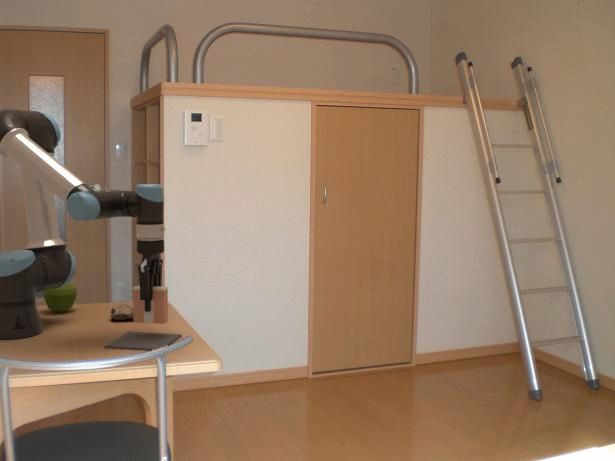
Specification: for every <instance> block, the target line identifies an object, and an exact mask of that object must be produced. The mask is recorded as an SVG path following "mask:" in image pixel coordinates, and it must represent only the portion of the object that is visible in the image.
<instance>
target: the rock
mask: <svg viewBox="0 0 615 461" xmlns="http://www.w3.org/2000/svg"><path fill="white" fill-rule="evenodd" d="M109 317H110V318H111V319H113V320H115V321H118V322H119V321H125V320H129V319H131V320H134V315H133V306H129V305H128V304H126V303H125V304H124V303H122V304H119V305H115V306H113V307H112V308H111V311H110V314H109Z"/></svg>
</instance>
